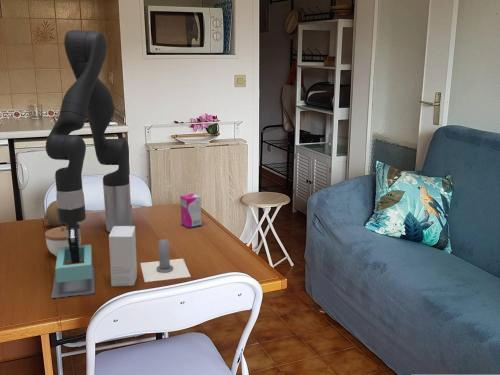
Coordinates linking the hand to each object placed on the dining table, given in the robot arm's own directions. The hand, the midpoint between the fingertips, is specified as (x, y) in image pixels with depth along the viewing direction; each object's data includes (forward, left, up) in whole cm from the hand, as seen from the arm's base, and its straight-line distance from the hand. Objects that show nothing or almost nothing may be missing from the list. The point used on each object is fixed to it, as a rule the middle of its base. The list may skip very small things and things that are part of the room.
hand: (75, 260), depth 155 cm
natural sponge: (-45, -7, -4) cm, 46 cm away
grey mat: (+7, 0, -4) cm, 8 cm away
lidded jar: (-16, -4, -4) cm, 17 cm away
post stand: (+7, +25, -4) cm, 26 cm away
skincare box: (+11, +13, -4) cm, 18 cm away
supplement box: (-33, +40, -4) cm, 52 cm away
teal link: (+7, 0, 0) cm, 7 cm away
